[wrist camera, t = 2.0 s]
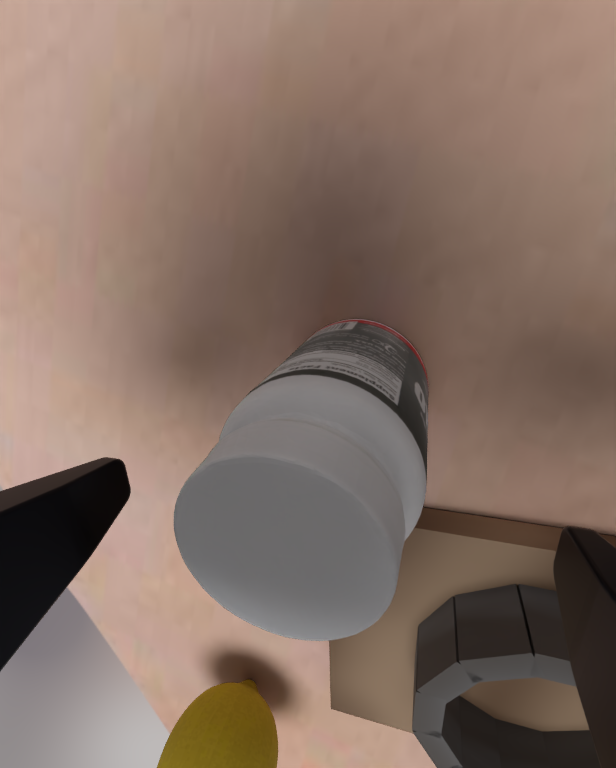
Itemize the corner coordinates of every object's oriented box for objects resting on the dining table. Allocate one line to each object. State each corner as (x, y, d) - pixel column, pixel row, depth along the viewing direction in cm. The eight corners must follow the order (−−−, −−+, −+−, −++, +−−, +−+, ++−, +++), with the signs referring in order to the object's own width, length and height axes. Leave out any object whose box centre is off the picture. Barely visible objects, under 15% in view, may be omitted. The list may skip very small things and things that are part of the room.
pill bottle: (404, 457, 15) (376, 700, 7) (285, 417, 15) (150, 599, 8) (449, 338, 13) (476, 505, 5) (310, 299, 13) (160, 396, 6)
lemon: (215, 632, 22) (111, 829, 15) (307, 677, 21) (244, 908, 14) (202, 685, 24) (108, 876, 17) (285, 727, 23) (221, 947, 16)
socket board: (855, 572, 12) (1020, 708, 9) (716, 790, 16) (788, 935, 13) (333, 494, 16) (308, 563, 13) (335, 683, 21) (318, 771, 17)
